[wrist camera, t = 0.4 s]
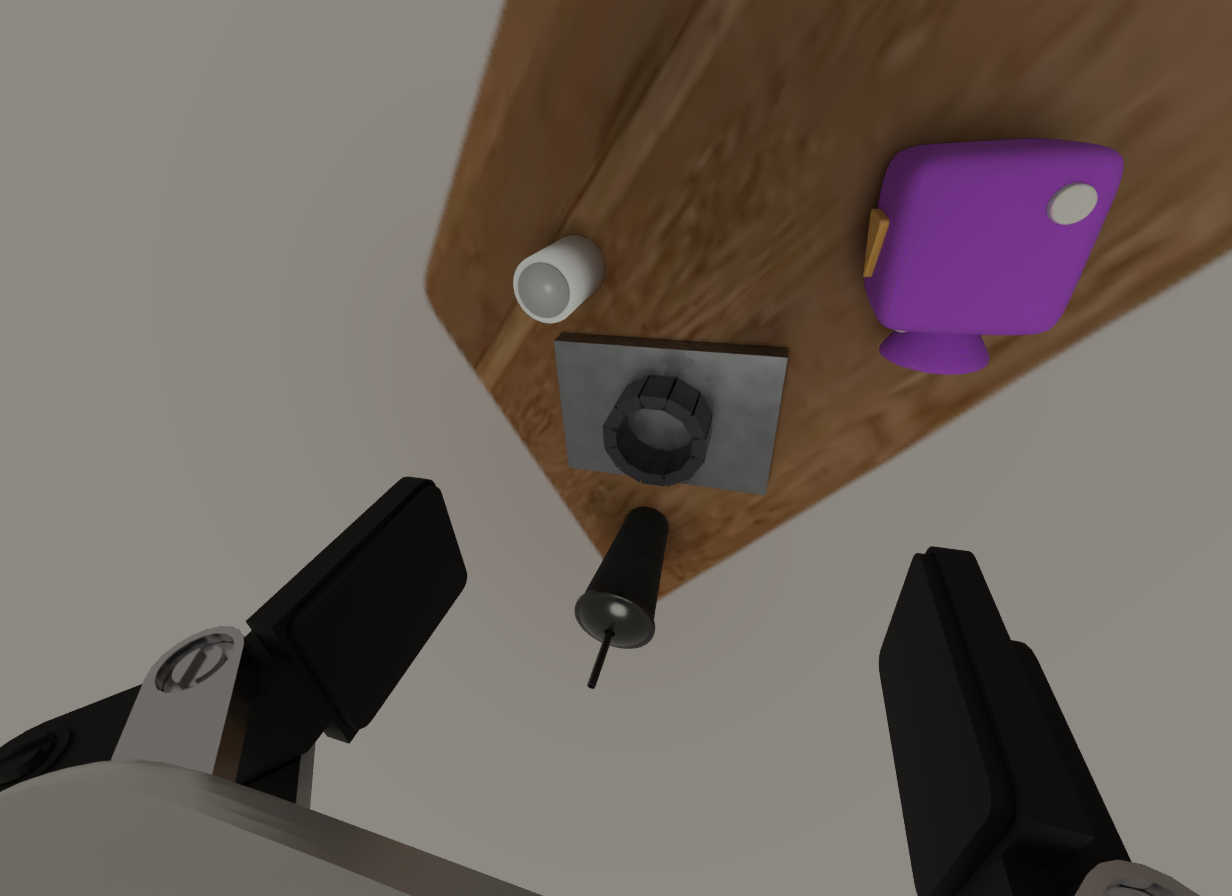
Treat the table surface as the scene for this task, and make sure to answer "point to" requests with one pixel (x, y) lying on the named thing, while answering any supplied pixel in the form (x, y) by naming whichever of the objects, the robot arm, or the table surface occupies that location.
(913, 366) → the toy camera
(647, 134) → the table surface
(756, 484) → the lens mount
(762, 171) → the table surface
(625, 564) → the drinking cup
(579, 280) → the white cylinder
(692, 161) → the table surface
